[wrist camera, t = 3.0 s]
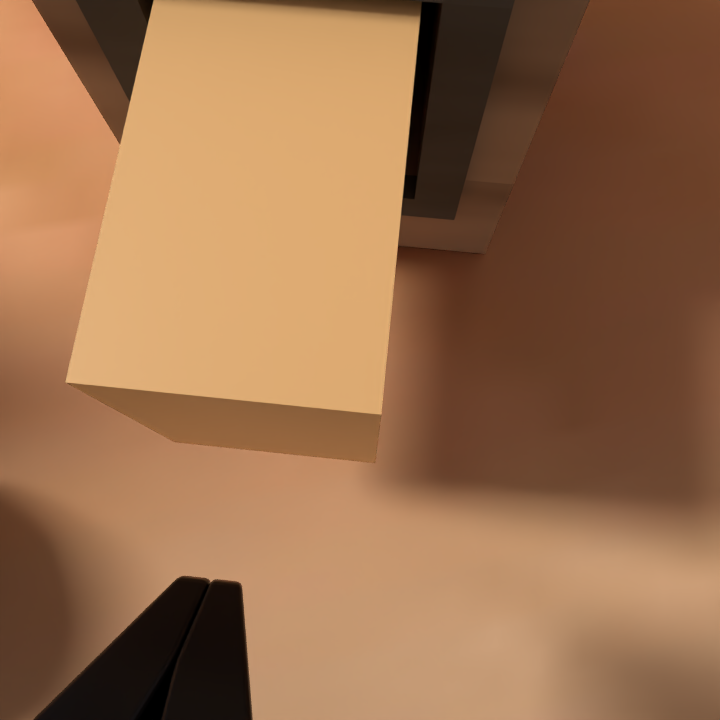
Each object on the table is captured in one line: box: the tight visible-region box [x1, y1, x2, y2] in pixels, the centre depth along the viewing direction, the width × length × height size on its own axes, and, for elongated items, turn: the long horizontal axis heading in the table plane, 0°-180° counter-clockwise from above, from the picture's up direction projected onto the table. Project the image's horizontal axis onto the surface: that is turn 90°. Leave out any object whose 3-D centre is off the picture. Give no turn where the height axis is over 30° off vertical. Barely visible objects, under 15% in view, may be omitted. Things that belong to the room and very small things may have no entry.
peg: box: [65, 0, 422, 463], centre depth 12 cm, size 10×4×5 cm, turn 174°
